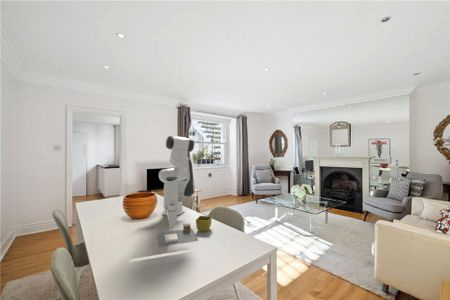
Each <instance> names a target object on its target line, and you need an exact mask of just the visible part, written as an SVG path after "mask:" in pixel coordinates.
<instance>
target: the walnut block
mask: <svg viewBox="0 0 450 300" xmlns="http://www.w3.org/2000/svg"><path fill="white" fill-rule="evenodd" d="M182 227H183V228H182V230H184V232H190V230H191V223H189V222H188V223H183V226H182Z"/></svg>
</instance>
